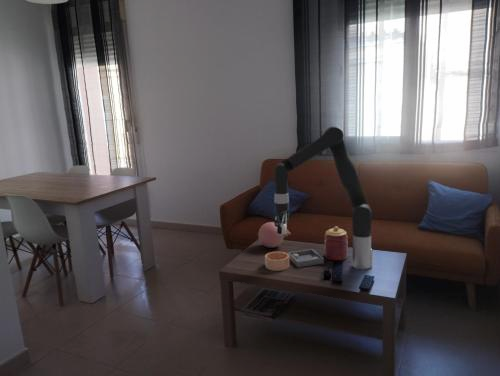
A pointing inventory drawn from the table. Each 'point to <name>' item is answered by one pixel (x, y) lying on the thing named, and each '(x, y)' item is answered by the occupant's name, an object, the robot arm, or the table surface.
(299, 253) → the parts tray
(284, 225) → the pale stone
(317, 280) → the table surface
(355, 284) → the table surface
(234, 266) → the table surface
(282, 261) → the terracotta bowl
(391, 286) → the table surface
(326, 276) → the black bracket
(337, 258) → the canister
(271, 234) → the balloon
